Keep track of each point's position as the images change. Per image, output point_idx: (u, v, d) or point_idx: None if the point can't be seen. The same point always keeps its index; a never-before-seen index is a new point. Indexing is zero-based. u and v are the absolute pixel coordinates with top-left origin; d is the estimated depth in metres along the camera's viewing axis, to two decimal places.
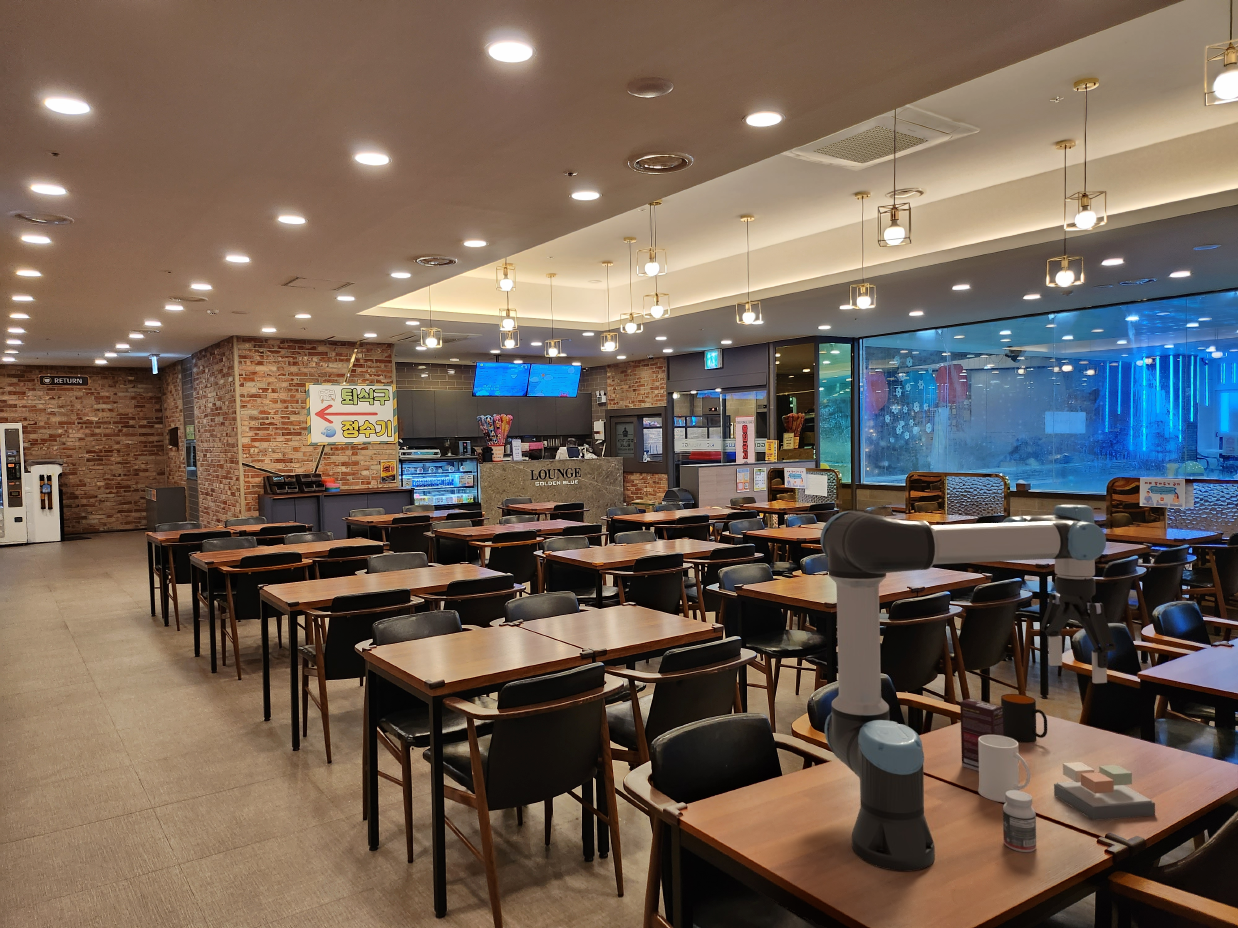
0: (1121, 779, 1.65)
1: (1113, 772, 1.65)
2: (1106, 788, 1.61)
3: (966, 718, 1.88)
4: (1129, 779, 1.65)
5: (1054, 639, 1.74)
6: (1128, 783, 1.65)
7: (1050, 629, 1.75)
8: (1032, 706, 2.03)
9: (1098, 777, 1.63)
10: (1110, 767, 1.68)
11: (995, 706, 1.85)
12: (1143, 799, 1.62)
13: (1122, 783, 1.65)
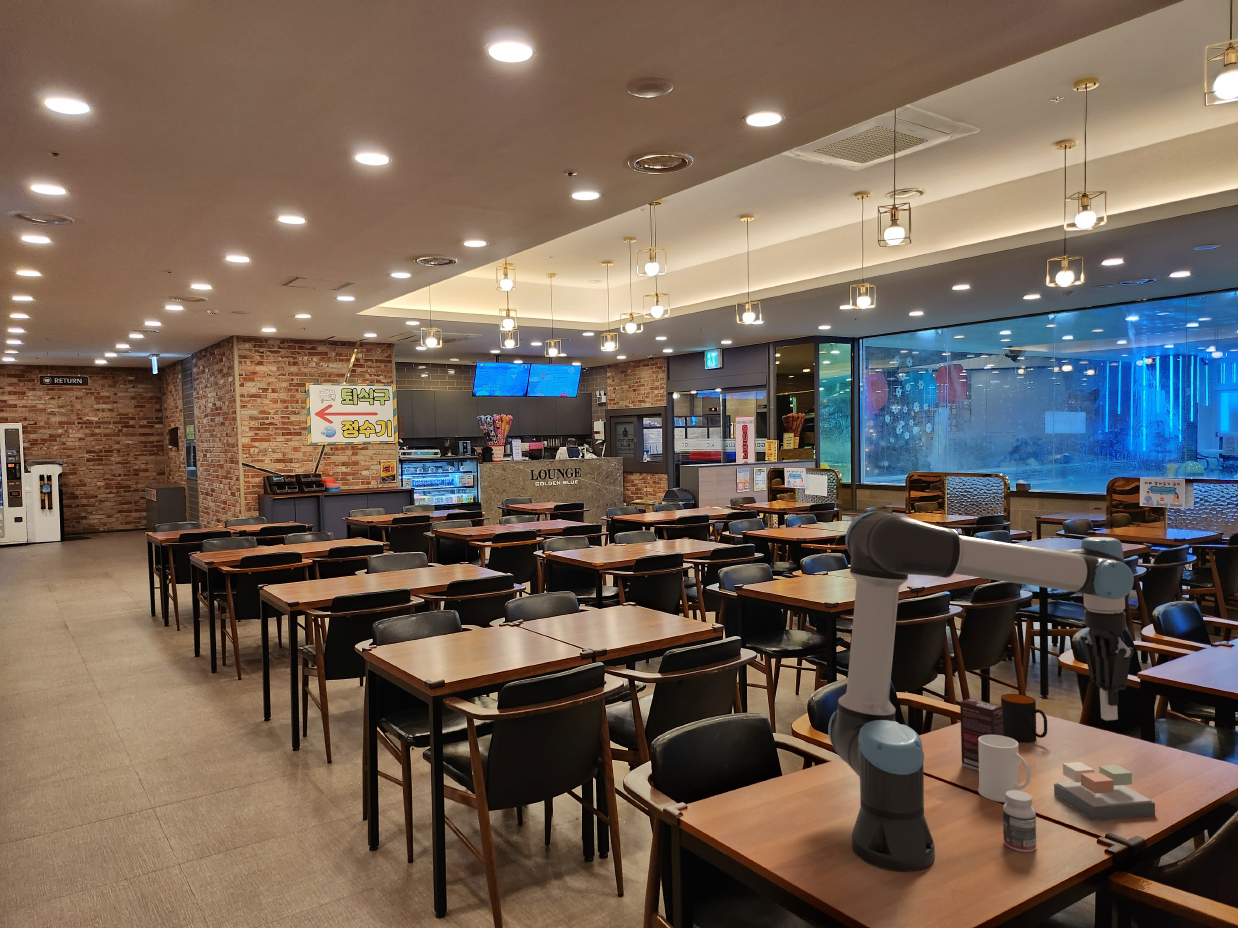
0: (1121, 779, 1.65)
1: (1113, 772, 1.65)
2: (1106, 788, 1.61)
3: (966, 718, 1.88)
4: (1129, 779, 1.65)
5: None
6: (1128, 783, 1.65)
7: (1098, 677, 1.67)
8: (1032, 706, 2.03)
9: (1098, 777, 1.63)
10: (1110, 767, 1.68)
11: (995, 706, 1.85)
12: (1143, 799, 1.62)
13: (1122, 783, 1.65)
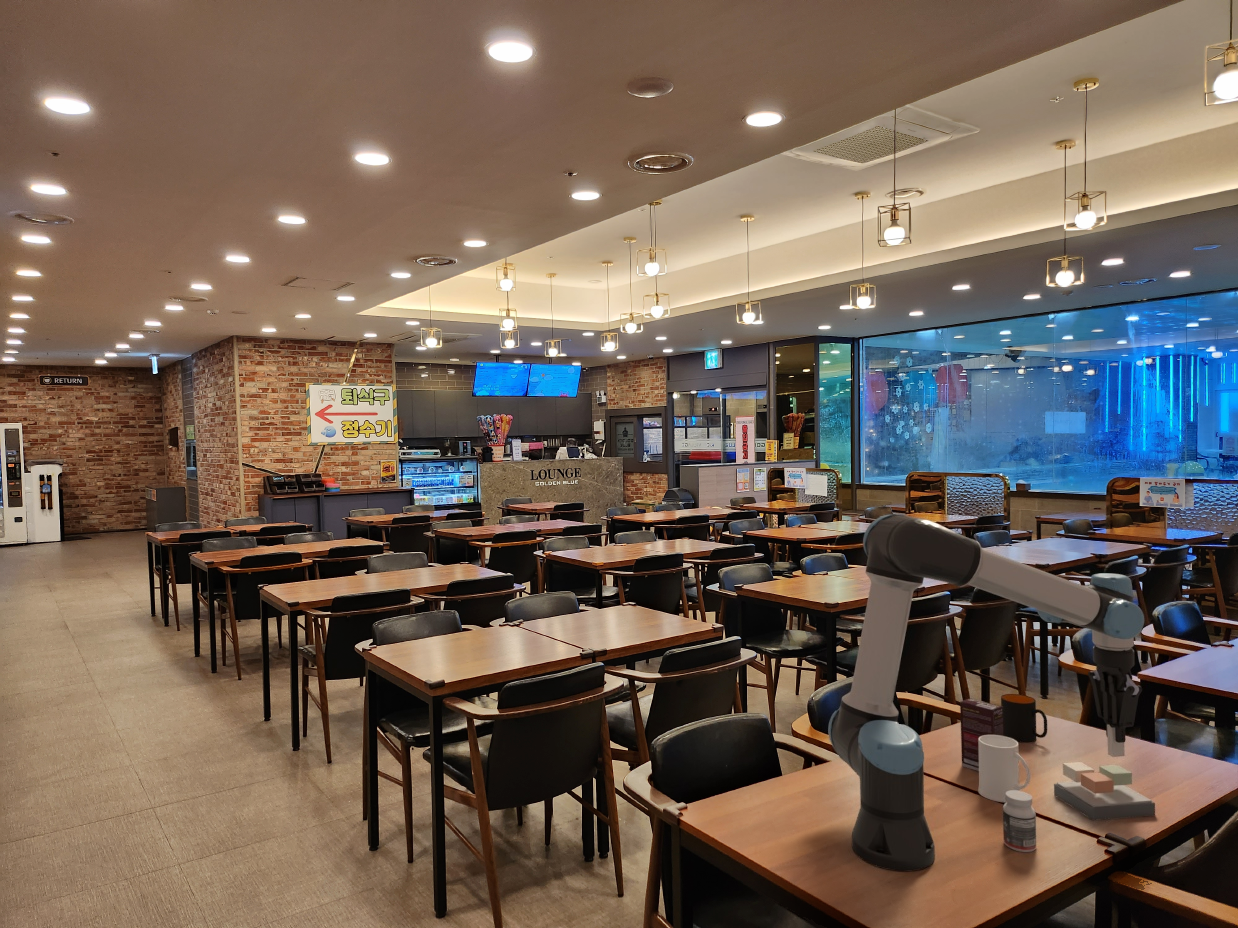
0: (1121, 779, 1.65)
1: (1113, 772, 1.65)
2: (1106, 788, 1.61)
3: (966, 718, 1.88)
4: (1129, 779, 1.65)
5: None
6: (1128, 783, 1.65)
7: (1106, 713, 1.68)
8: (1032, 706, 2.03)
9: (1098, 777, 1.63)
10: (1110, 767, 1.68)
11: (995, 706, 1.85)
12: (1143, 799, 1.62)
13: (1122, 783, 1.65)
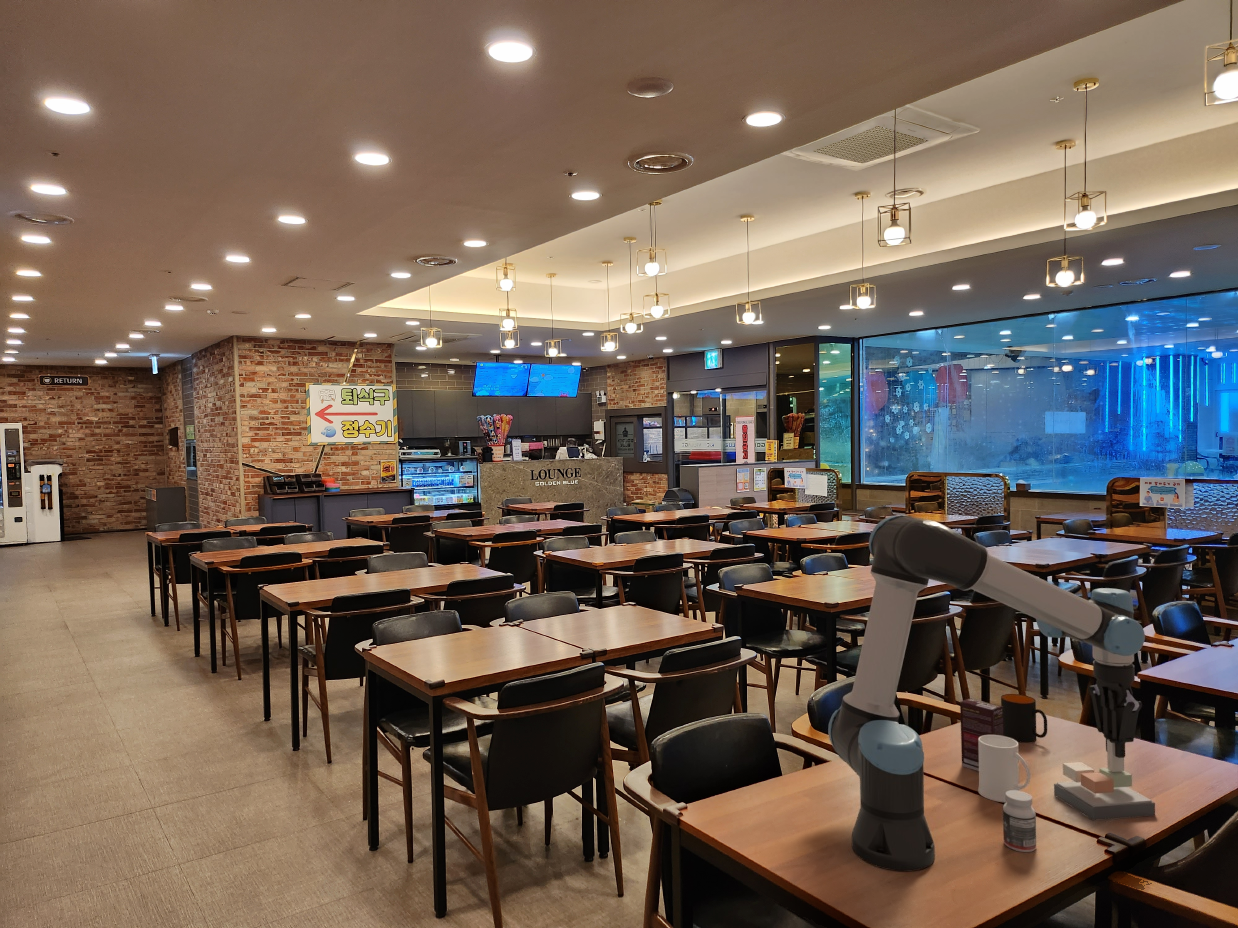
0: (1121, 781, 1.65)
1: (1113, 774, 1.65)
2: (1106, 788, 1.61)
3: (966, 718, 1.88)
4: (1129, 781, 1.65)
5: None
6: (1128, 785, 1.65)
7: (1106, 728, 1.68)
8: (1032, 706, 2.03)
9: (1098, 777, 1.63)
10: None
11: (995, 706, 1.85)
12: (1143, 799, 1.62)
13: (1122, 785, 1.65)
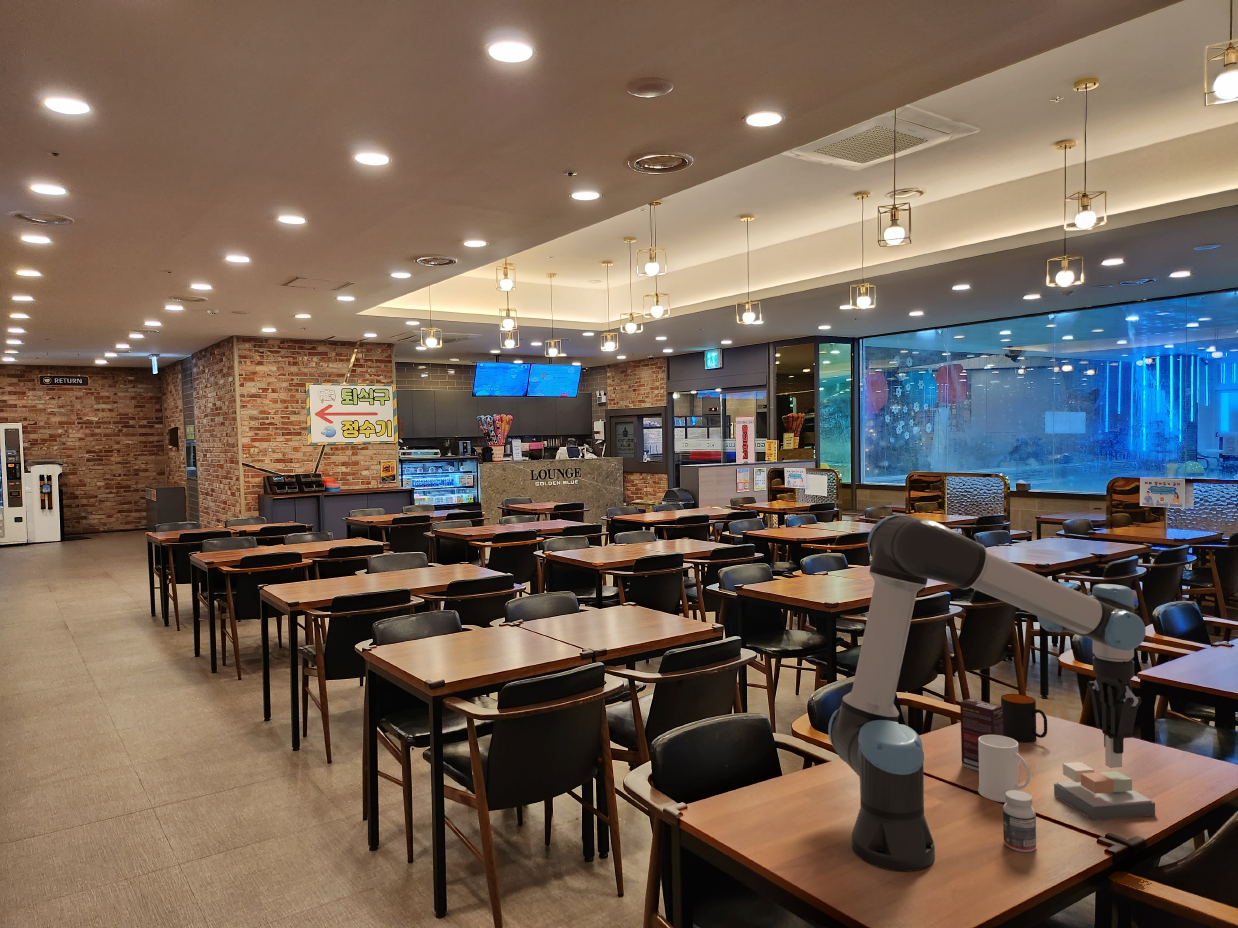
0: (1121, 785, 1.65)
1: (1113, 778, 1.65)
2: (1106, 788, 1.61)
3: (966, 718, 1.88)
4: (1129, 785, 1.65)
5: None
6: (1128, 789, 1.65)
7: (1104, 724, 1.68)
8: (1032, 706, 2.03)
9: (1098, 777, 1.63)
10: (1110, 773, 1.68)
11: (995, 706, 1.85)
12: (1143, 799, 1.62)
13: (1122, 789, 1.65)
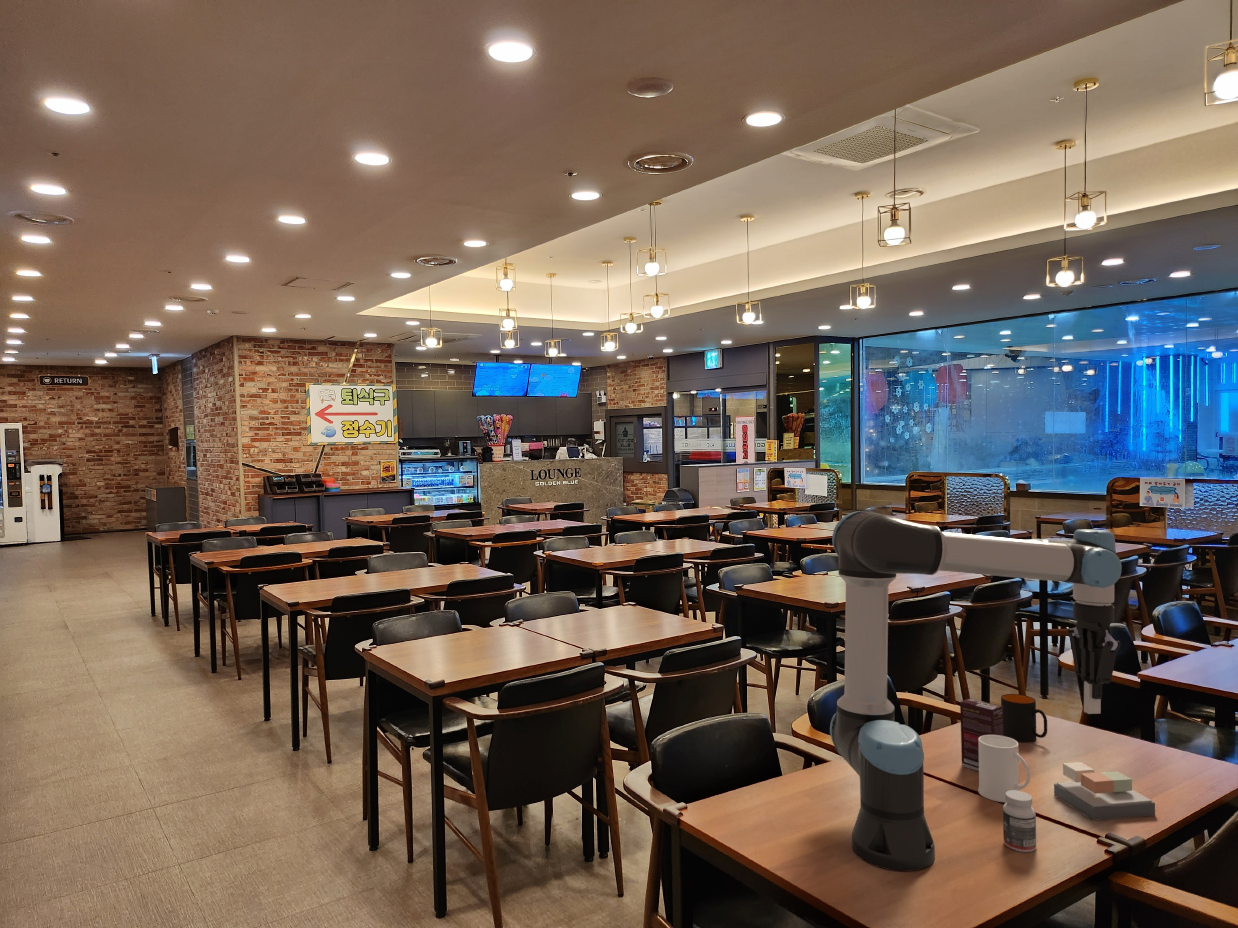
0: (1121, 785, 1.65)
1: (1113, 778, 1.65)
2: (1106, 788, 1.61)
3: (966, 718, 1.88)
4: (1129, 785, 1.65)
5: None
6: (1128, 789, 1.65)
7: (1083, 670, 1.66)
8: (1032, 706, 2.03)
9: (1098, 777, 1.63)
10: (1110, 773, 1.68)
11: (995, 706, 1.85)
12: (1143, 799, 1.62)
13: (1122, 789, 1.65)
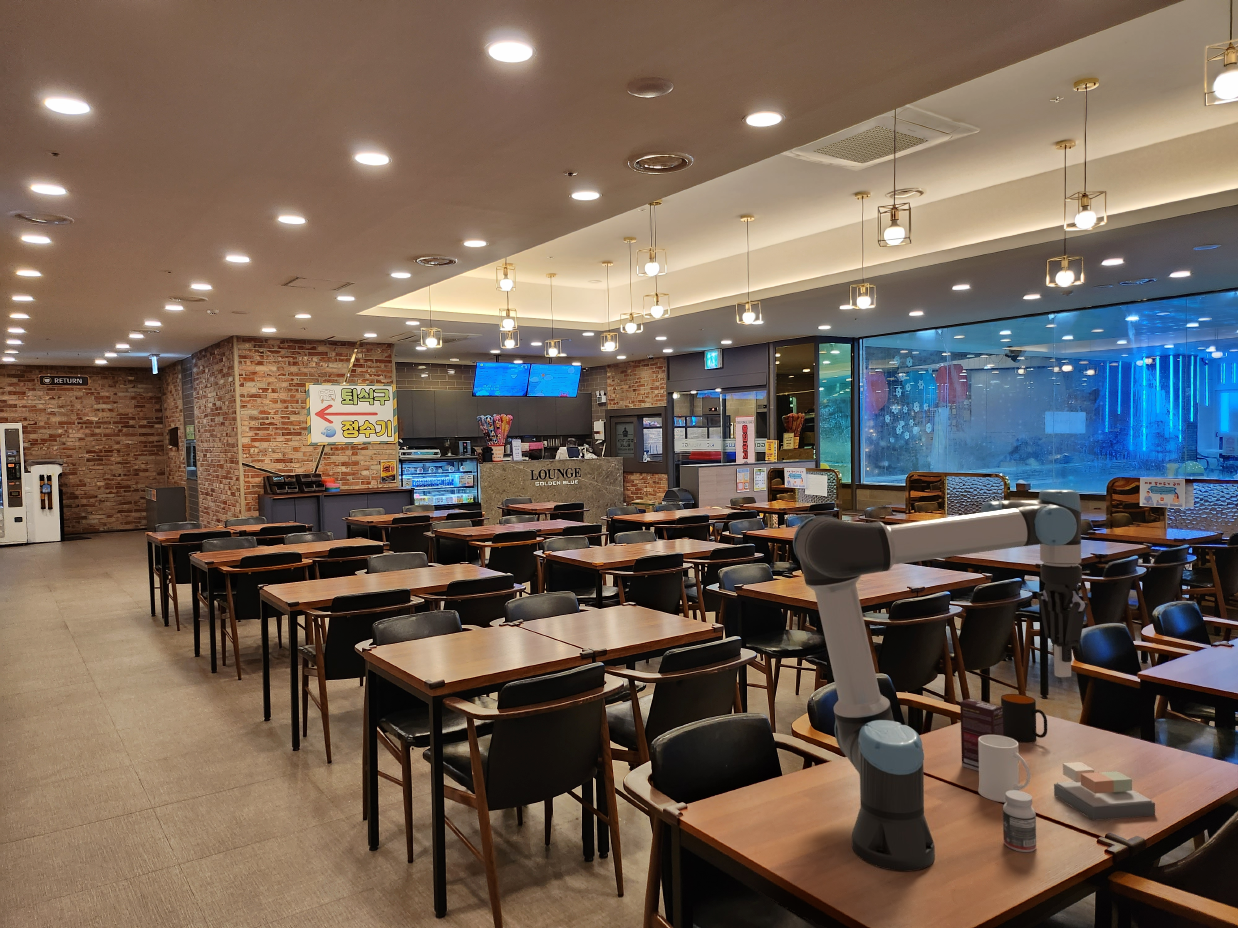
0: (1121, 785, 1.65)
1: (1113, 778, 1.65)
2: (1106, 788, 1.61)
3: (966, 718, 1.88)
4: (1129, 785, 1.65)
5: None
6: (1128, 789, 1.65)
7: (1053, 633, 1.63)
8: (1032, 706, 2.03)
9: (1098, 777, 1.63)
10: (1110, 773, 1.68)
11: (995, 706, 1.85)
12: (1143, 799, 1.62)
13: (1122, 789, 1.65)
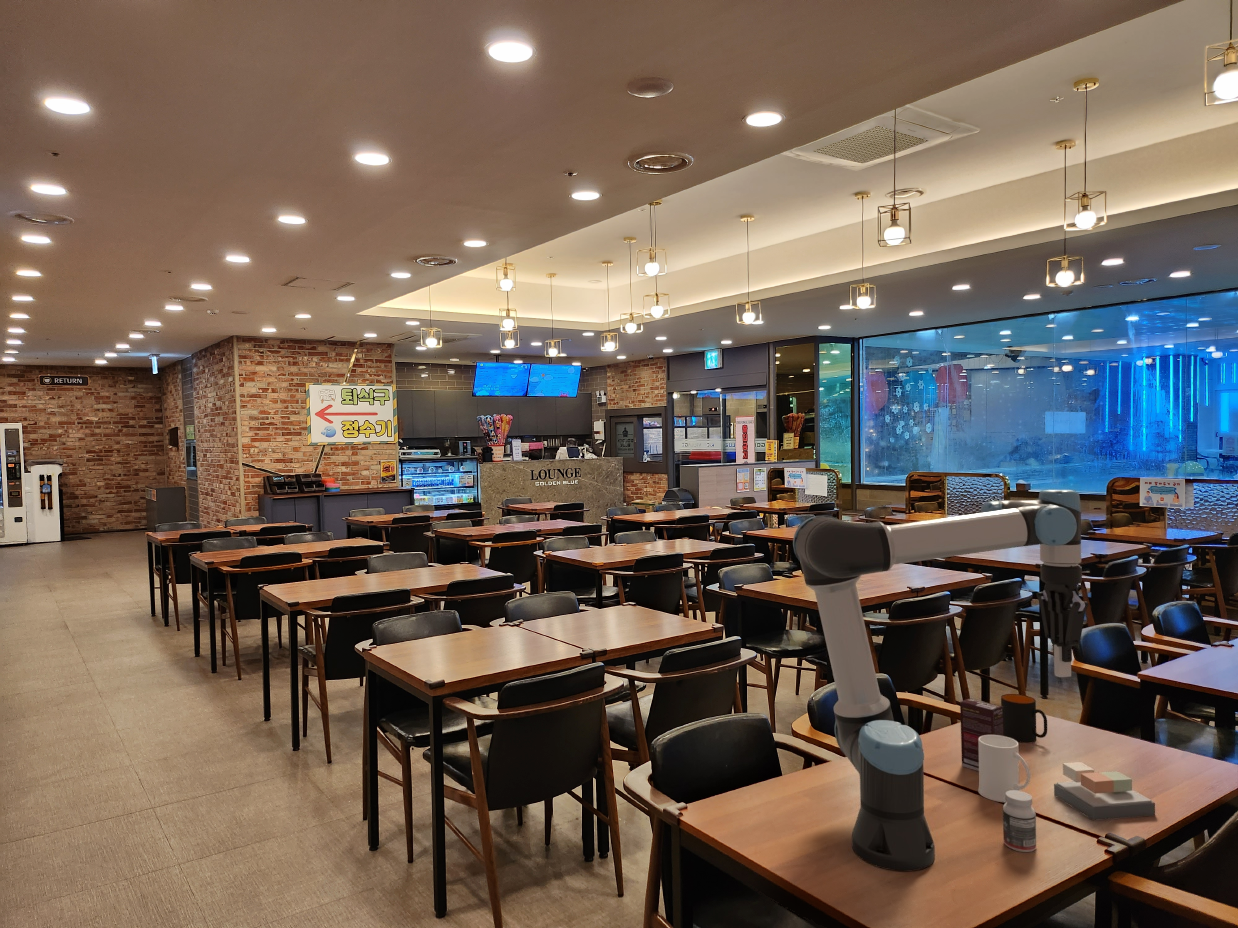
0: (1121, 785, 1.65)
1: (1113, 778, 1.65)
2: (1106, 788, 1.61)
3: (966, 718, 1.88)
4: (1129, 785, 1.65)
5: None
6: (1128, 789, 1.65)
7: (1053, 633, 1.63)
8: (1032, 706, 2.03)
9: (1098, 777, 1.63)
10: (1110, 773, 1.68)
11: (995, 706, 1.85)
12: (1143, 799, 1.62)
13: (1122, 789, 1.65)
